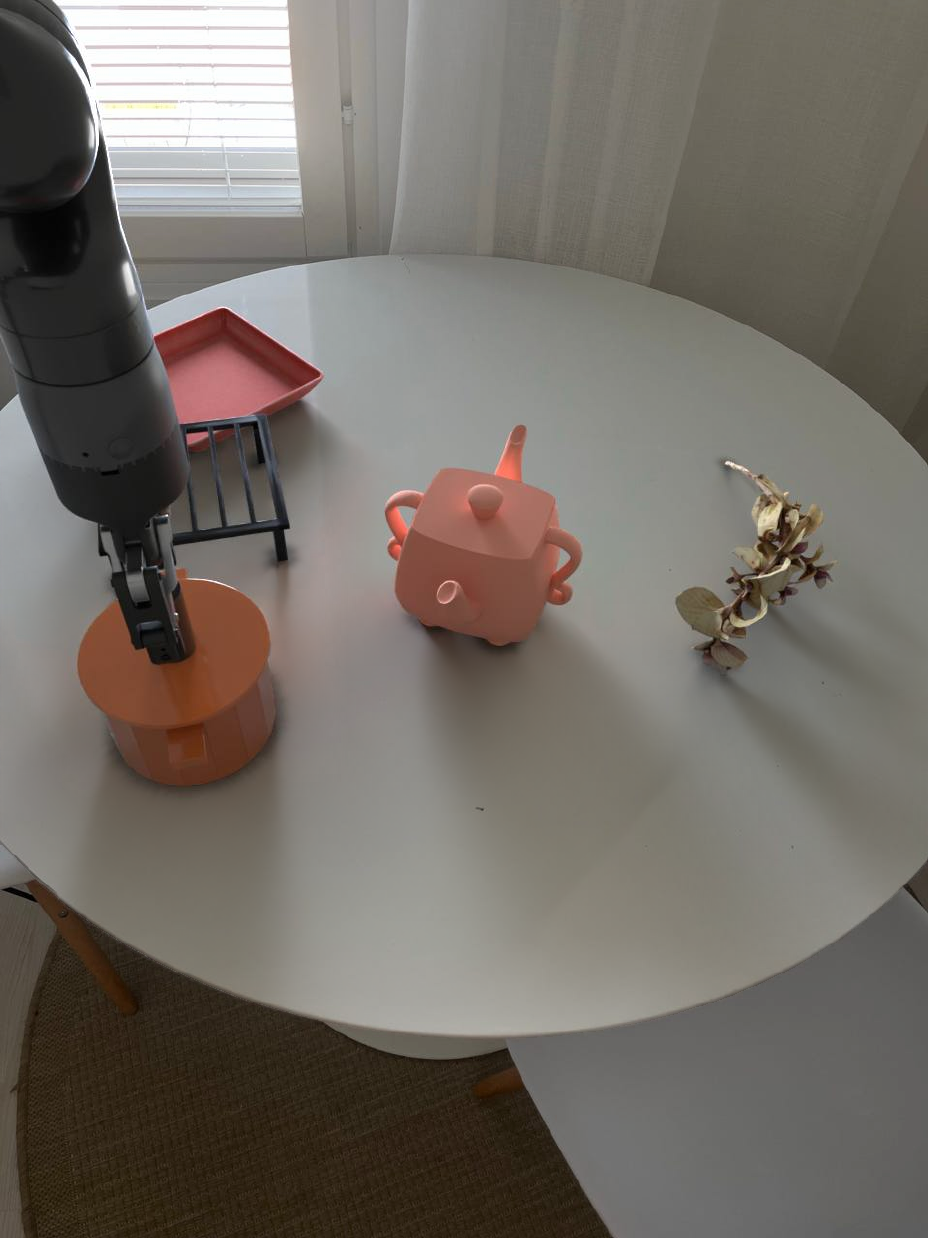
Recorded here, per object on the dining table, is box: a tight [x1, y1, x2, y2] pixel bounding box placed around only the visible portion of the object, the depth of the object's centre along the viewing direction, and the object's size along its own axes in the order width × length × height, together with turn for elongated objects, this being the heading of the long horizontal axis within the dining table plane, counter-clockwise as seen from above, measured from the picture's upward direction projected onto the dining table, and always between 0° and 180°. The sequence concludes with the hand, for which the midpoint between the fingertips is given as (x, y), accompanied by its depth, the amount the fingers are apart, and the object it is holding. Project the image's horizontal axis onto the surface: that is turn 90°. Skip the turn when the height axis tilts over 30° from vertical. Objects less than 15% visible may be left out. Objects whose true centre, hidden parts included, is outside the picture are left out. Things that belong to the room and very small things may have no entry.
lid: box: [76, 575, 272, 729], centre depth 63 cm, size 13×13×7 cm
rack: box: [97, 414, 291, 571], centre depth 84 cm, size 16×16×5 cm
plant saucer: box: [153, 306, 325, 453], centre depth 97 cm, size 18×18×3 cm
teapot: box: [384, 424, 583, 647], centre depth 77 cm, size 15×17×13 cm
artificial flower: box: [674, 460, 838, 676], centre depth 83 cm, size 10×14×30 cm
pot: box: [99, 567, 277, 787], centre depth 69 cm, size 12×18×8 cm
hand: (165, 610), depth 62 cm, fingers open, 8 cm apart
